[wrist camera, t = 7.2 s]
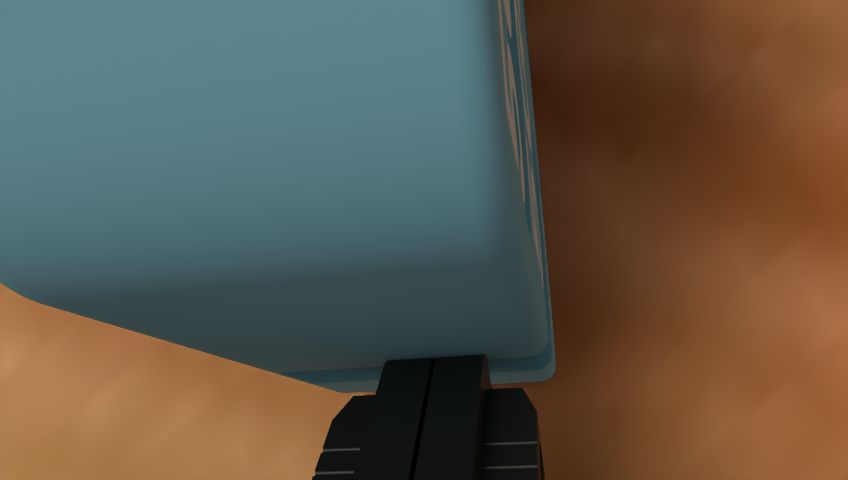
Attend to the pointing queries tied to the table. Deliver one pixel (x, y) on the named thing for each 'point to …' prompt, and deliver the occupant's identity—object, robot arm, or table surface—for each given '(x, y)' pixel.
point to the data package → (280, 179)
